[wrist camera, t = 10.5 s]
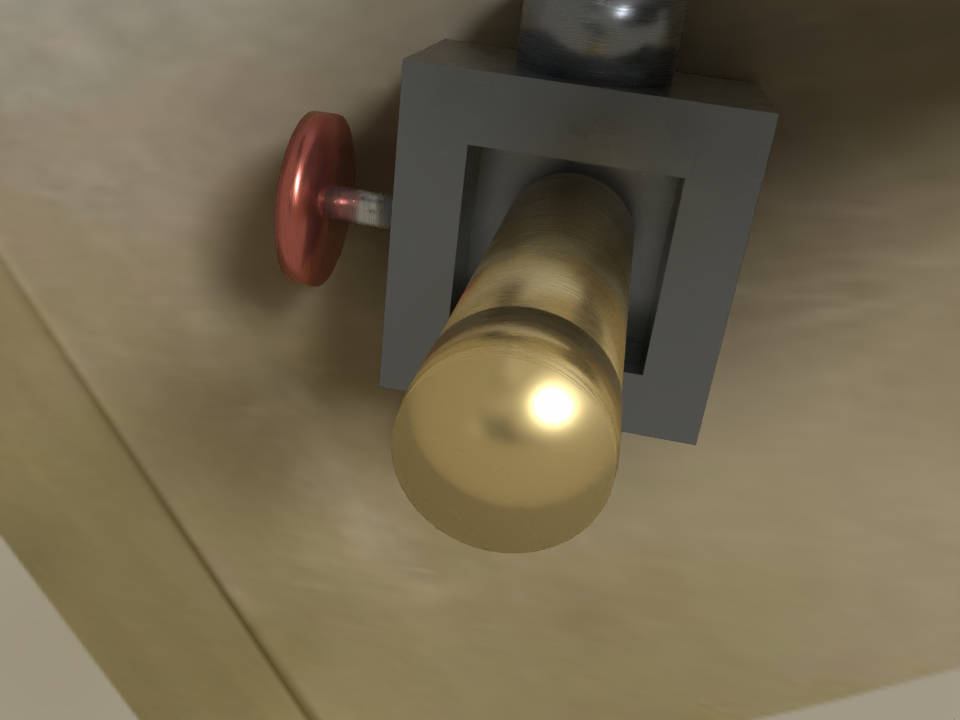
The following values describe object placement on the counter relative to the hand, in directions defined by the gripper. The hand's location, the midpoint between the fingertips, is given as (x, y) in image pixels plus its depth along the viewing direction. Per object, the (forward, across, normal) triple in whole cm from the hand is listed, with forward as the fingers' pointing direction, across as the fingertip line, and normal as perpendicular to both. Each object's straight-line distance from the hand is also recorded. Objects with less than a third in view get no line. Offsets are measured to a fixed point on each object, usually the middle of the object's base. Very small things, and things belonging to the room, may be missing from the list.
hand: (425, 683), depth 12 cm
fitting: (+21, 0, 0) cm, 21 cm away
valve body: (+24, -2, -1) cm, 24 cm away
